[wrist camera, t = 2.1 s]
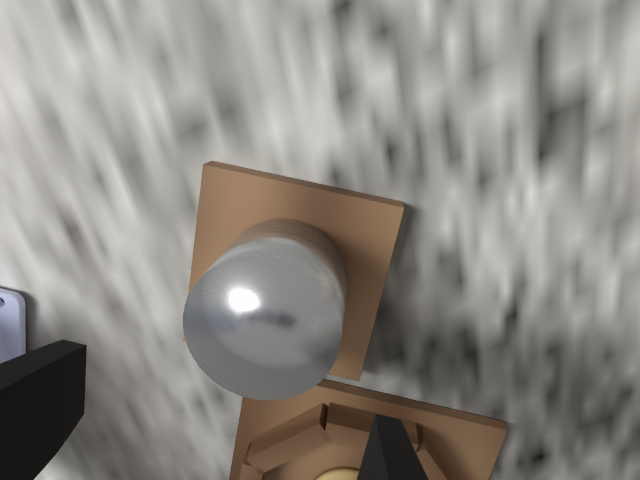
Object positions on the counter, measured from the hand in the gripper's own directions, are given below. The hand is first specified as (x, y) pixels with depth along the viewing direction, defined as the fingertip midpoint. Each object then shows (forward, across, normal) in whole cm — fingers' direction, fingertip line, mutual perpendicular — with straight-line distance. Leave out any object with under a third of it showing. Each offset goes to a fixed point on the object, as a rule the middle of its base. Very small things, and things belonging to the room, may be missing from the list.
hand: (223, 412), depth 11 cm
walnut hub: (+10, -5, +11) cm, 15 cm away
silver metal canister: (+8, 0, 0) cm, 8 cm away
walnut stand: (+10, 0, 0) cm, 10 cm away
